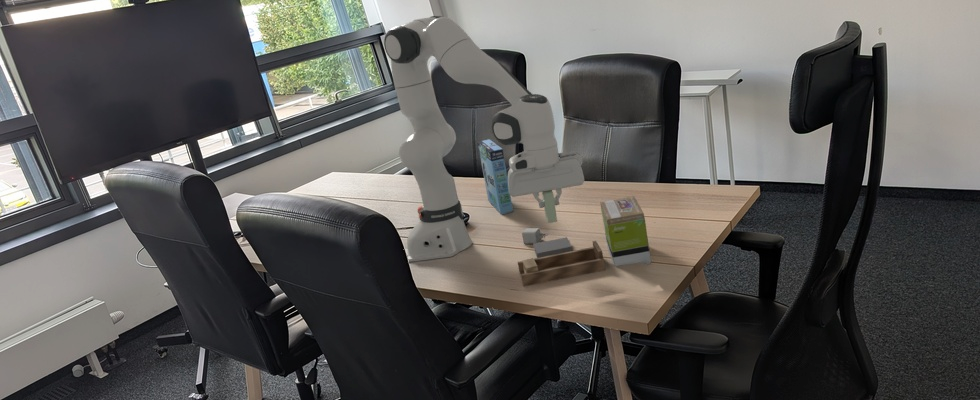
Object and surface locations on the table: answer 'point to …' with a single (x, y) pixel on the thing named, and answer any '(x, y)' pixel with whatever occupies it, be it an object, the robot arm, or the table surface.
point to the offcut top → (530, 265)
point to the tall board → (549, 206)
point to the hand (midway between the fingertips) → (549, 205)
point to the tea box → (625, 231)
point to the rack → (564, 265)
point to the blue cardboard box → (495, 176)
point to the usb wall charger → (532, 235)
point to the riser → (552, 247)
